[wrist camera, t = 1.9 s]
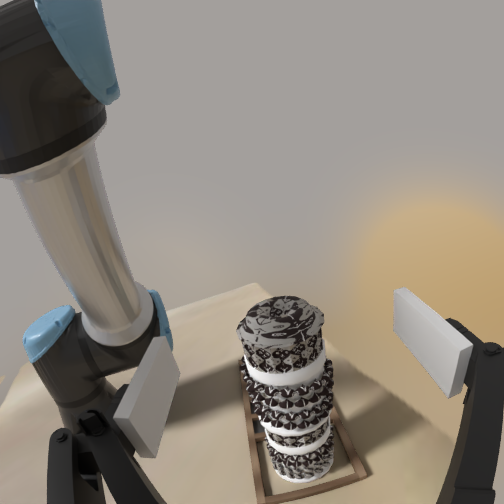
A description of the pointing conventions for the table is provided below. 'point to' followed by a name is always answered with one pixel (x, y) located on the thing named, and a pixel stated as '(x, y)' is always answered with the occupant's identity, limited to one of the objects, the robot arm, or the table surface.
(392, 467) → the table surface
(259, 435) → the brown flat rectangular frame
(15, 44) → the robot arm
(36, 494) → the table surface
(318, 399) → the decorative candle
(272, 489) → the table surface
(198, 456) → the table surface
